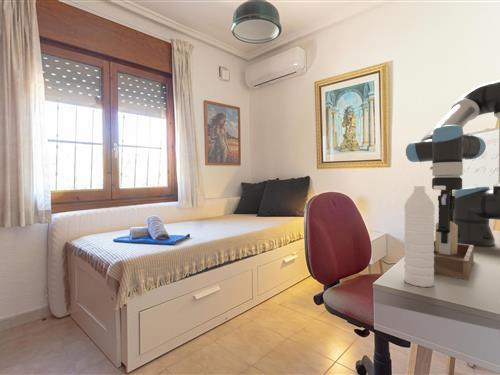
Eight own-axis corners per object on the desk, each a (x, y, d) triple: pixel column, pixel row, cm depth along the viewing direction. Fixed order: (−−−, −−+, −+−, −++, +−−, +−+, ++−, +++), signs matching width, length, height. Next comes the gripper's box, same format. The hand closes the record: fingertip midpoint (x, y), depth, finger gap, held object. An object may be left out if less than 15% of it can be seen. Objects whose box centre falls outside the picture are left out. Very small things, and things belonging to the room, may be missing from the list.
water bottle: (403, 284, 68) (403, 186, 68) (405, 276, 74) (405, 185, 73) (445, 291, 64) (446, 186, 63) (444, 282, 69) (444, 185, 68)
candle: (461, 255, 80) (461, 221, 80) (440, 254, 81) (440, 221, 81) (451, 250, 85) (451, 219, 85) (432, 249, 86) (432, 218, 86)
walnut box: (429, 254, 96) (429, 240, 96) (473, 260, 88) (473, 245, 88) (415, 270, 79) (415, 253, 79) (468, 280, 71) (468, 261, 71)
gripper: (437, 177, 92) (436, 244, 93) (426, 176, 78) (425, 255, 79) (464, 177, 87) (464, 248, 87) (459, 176, 73) (458, 260, 74)
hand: (446, 251), depth 83 cm, fingers closed on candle, 5 cm apart
